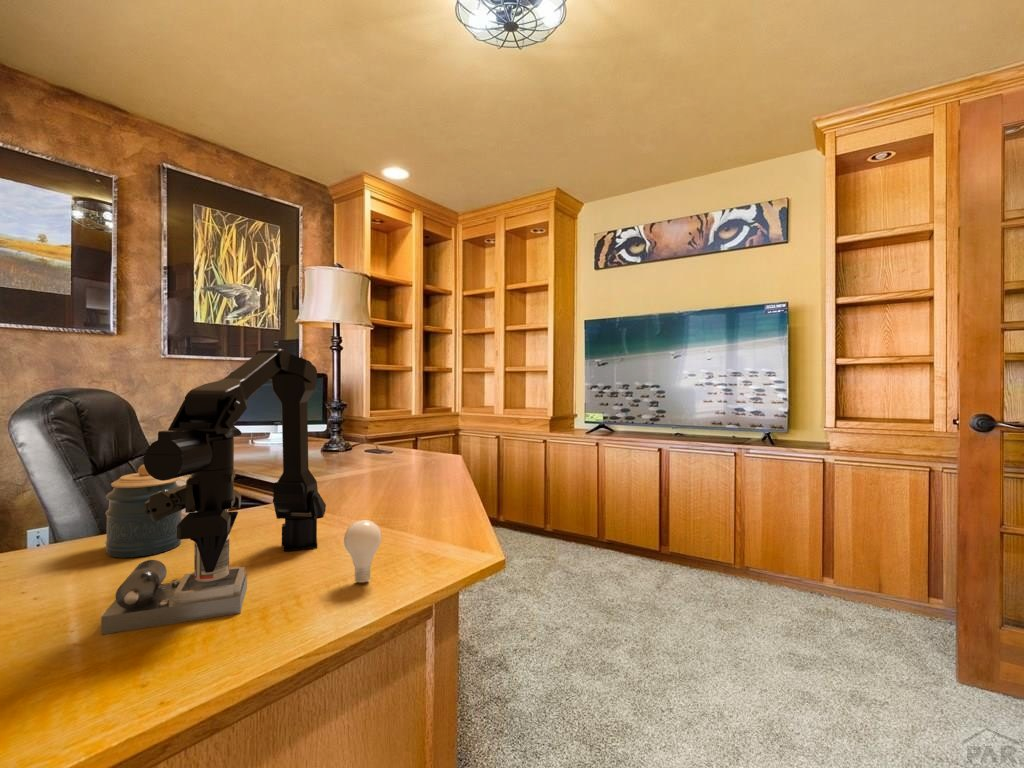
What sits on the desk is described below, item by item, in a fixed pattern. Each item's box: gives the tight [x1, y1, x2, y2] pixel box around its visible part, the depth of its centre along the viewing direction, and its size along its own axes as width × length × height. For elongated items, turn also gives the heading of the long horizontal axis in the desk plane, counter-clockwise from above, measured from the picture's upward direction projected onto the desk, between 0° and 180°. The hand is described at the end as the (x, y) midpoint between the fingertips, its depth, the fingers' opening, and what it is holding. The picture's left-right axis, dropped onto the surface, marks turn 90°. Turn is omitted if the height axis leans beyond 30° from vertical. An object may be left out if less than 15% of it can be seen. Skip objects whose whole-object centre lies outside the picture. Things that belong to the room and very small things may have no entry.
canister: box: [104, 464, 183, 559], centre depth 103 cm, size 13×13×18 cm
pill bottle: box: [193, 534, 230, 582], centre depth 78 cm, size 5×5×8 cm
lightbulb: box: [343, 519, 382, 584], centre depth 87 cm, size 6×6×11 cm
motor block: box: [100, 559, 248, 636], centre depth 76 cm, size 17×11×7 cm, turn 113°
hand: (212, 566), depth 78 cm, fingers closed on pill bottle, 5 cm apart
